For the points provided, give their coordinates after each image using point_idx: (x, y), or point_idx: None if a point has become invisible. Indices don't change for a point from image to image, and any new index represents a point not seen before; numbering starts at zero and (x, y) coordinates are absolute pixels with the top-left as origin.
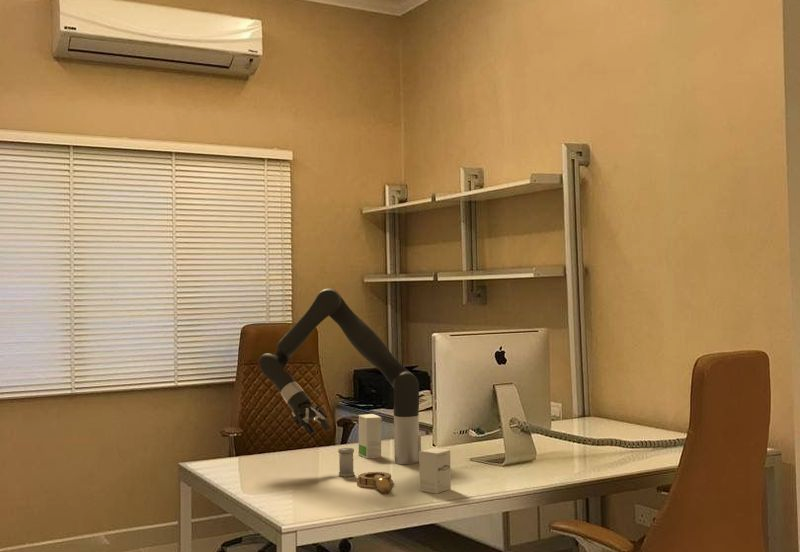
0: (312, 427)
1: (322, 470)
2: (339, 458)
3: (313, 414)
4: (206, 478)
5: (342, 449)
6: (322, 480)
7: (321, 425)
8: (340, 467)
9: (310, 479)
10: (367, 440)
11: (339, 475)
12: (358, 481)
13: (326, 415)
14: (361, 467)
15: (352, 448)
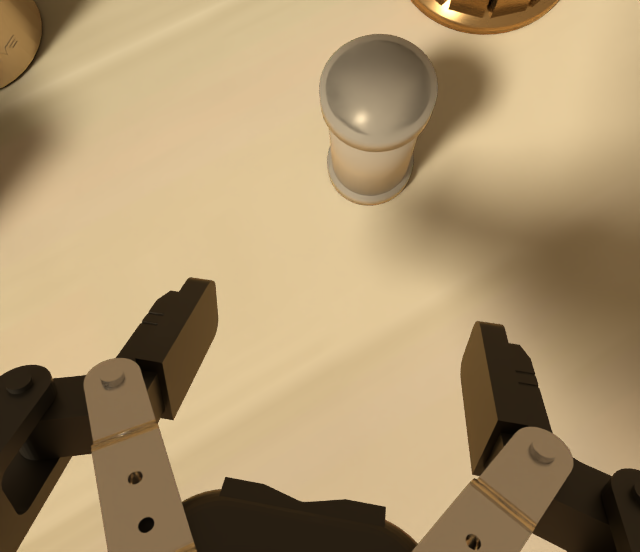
0: (486, 356)
1: (303, 354)
2: (406, 150)
3: (241, 516)
4: None
5: (393, 107)
6: (524, 223)
7: (184, 396)
8: (408, 162)
9: (531, 297)
10: None
11: (404, 186)
12: (537, 1)
13: (9, 383)
14: (165, 188)
15: (331, 61)
